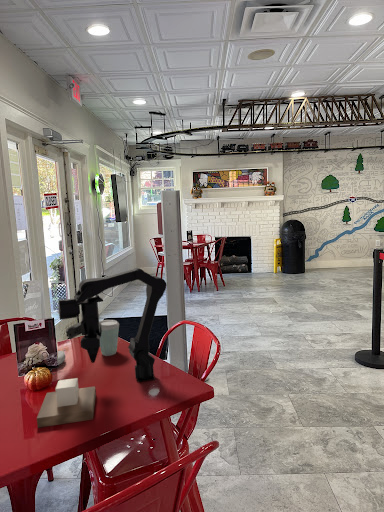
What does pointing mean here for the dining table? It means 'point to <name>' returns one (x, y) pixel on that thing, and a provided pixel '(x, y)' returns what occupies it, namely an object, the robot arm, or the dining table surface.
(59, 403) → the cream cube
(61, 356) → the robot toy
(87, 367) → the dining table surface
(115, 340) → the disposable coffee cup
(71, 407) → the walnut base
